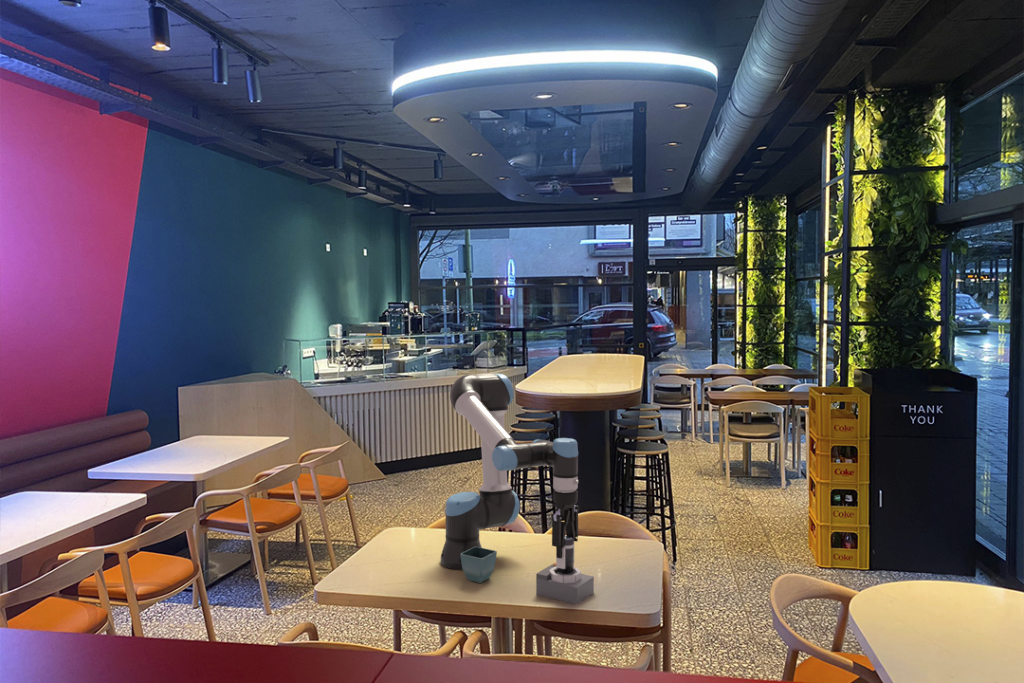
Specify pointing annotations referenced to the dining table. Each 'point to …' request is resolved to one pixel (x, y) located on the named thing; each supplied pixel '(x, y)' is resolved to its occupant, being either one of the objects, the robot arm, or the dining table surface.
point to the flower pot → (478, 563)
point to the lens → (568, 556)
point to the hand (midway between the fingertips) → (565, 564)
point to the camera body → (564, 585)
